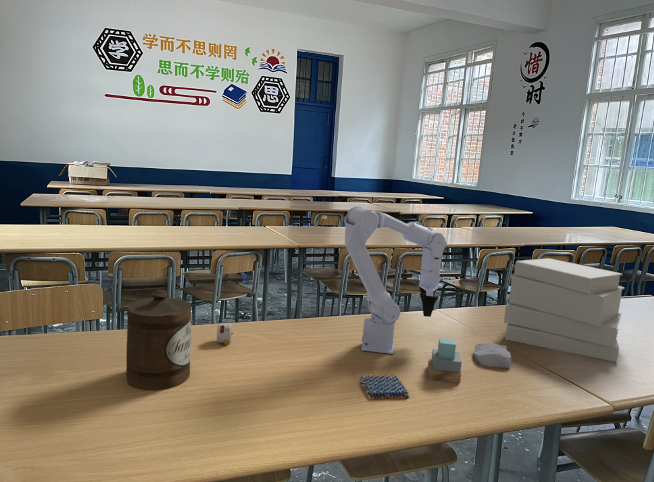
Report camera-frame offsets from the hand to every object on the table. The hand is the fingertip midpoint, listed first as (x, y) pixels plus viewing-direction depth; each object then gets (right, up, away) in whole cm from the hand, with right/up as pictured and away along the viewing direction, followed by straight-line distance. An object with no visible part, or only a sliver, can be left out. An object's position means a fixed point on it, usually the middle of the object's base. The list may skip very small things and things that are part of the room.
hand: (426, 312), depth 151 cm
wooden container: (-73, -11, -32) cm, 80 cm away
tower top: (+1, -11, -20) cm, 23 cm away
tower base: (0, -14, -20) cm, 25 cm away
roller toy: (-62, -8, -7) cm, 63 cm away
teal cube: (+1, -8, -21) cm, 23 cm away
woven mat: (-17, -15, -31) cm, 38 cm away
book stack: (+48, -12, +13) cm, 51 cm away
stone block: (+17, -13, -7) cm, 23 cm away
